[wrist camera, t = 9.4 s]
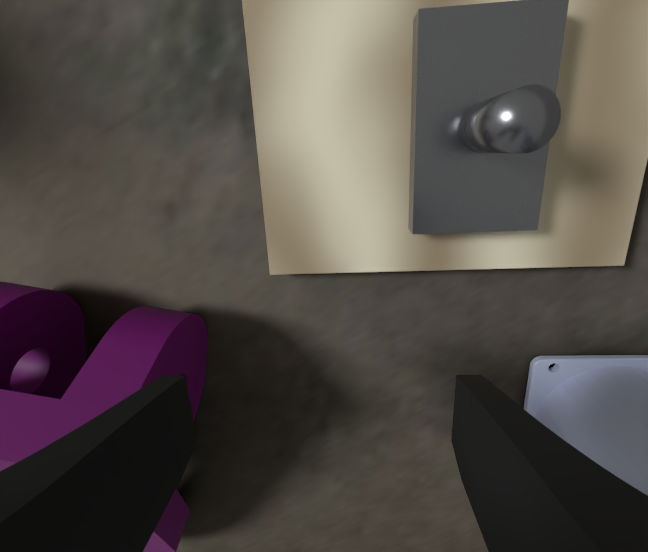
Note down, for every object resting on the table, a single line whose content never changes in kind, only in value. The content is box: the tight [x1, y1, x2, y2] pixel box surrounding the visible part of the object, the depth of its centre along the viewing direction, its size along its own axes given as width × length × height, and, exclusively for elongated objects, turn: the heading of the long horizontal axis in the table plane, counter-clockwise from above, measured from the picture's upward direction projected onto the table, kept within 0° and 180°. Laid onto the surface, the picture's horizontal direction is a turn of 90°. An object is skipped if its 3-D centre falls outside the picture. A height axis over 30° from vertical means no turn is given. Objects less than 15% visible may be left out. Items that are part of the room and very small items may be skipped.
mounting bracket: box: [0, 282, 208, 552], centre depth 21 cm, size 9×8×18 cm
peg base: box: [408, 0, 569, 234], centre depth 13 cm, size 5×8×5 cm, turn 3°
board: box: [242, 0, 648, 275], centre depth 14 cm, size 16×20×1 cm
